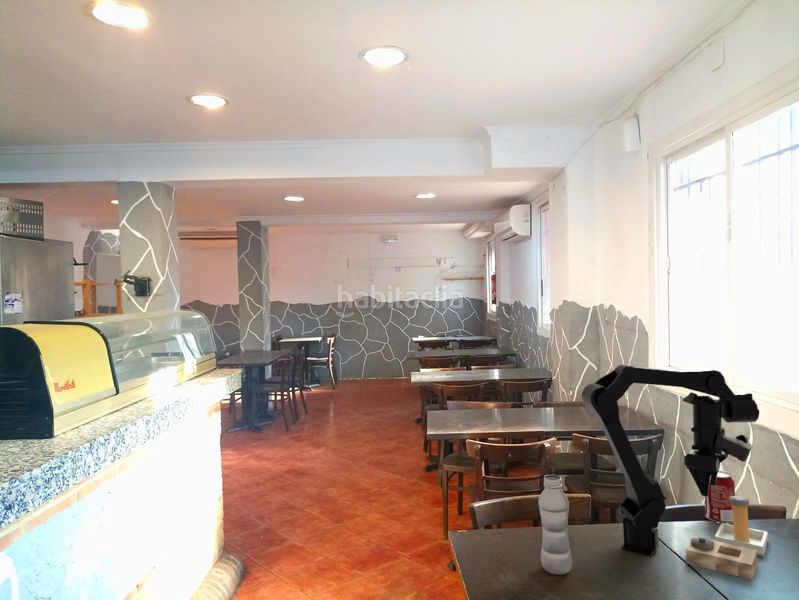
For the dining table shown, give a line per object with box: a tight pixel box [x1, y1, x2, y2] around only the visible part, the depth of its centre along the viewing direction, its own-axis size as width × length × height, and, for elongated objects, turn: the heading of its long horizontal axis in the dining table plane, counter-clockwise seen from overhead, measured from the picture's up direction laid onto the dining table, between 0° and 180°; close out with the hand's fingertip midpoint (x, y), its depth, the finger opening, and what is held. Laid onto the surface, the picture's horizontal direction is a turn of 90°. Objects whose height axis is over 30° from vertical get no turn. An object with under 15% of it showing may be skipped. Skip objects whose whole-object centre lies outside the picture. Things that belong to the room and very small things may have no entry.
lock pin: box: [729, 495, 750, 543], centre depth 121 cm, size 4×4×10 cm
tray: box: [714, 523, 769, 557], centre depth 121 cm, size 9×9×2 cm
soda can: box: [704, 469, 736, 524], centre depth 134 cm, size 7×7×12 cm
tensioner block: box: [685, 535, 759, 581], centre depth 113 cm, size 12×8×4 cm, turn 50°
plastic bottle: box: [537, 474, 573, 576], centre depth 113 cm, size 6×7×20 cm
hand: (708, 490), depth 121 cm, fingers open, 9 cm apart
